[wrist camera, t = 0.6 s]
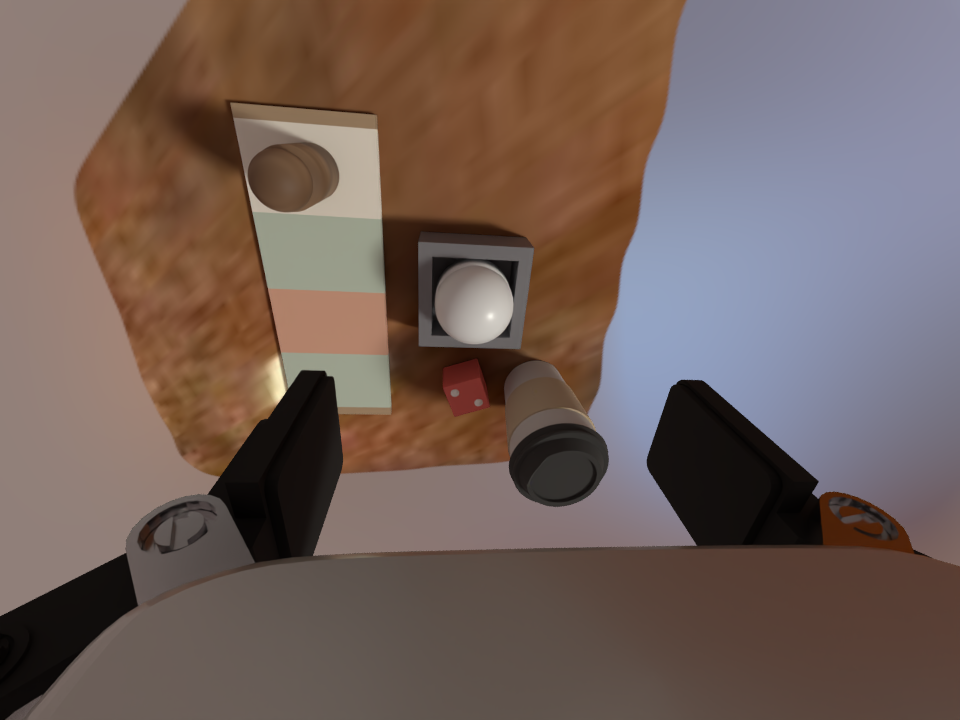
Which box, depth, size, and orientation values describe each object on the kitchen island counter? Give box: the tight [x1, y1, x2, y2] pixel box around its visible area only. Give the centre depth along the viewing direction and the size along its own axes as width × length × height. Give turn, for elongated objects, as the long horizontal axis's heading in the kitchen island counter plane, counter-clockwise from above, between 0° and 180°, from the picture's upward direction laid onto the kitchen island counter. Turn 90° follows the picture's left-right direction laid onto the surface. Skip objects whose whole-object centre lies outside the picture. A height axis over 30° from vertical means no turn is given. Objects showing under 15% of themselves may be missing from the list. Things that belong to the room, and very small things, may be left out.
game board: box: [230, 103, 392, 415], centre depth 39 cm, size 30×11×1 cm, turn 176°
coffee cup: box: [504, 361, 609, 507], centre depth 40 cm, size 9×9×15 cm
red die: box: [443, 358, 490, 417], centre depth 43 cm, size 4×4×4 cm
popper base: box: [418, 232, 534, 349], centre depth 38 cm, size 10×10×4 cm
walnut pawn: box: [248, 142, 339, 212], centre depth 29 cm, size 4×4×9 cm
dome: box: [435, 258, 514, 344], centre depth 35 cm, size 7×7×7 cm
